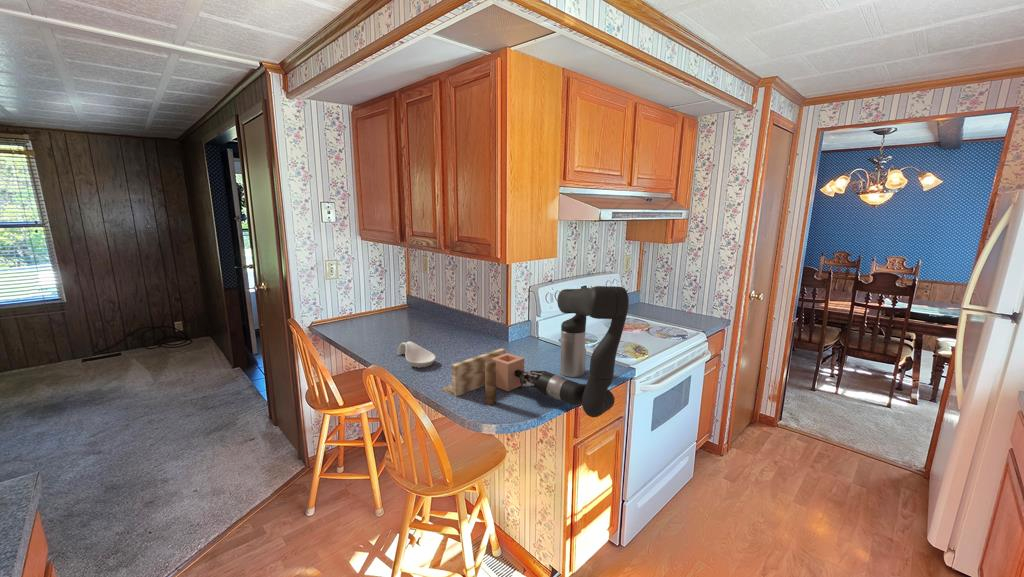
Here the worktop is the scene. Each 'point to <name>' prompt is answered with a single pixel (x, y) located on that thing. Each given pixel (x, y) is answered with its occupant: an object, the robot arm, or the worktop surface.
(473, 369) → the backstop wall
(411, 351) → the spoon rest
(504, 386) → the socket block
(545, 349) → the worktop surface
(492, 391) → the dowel
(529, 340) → the worktop surface
